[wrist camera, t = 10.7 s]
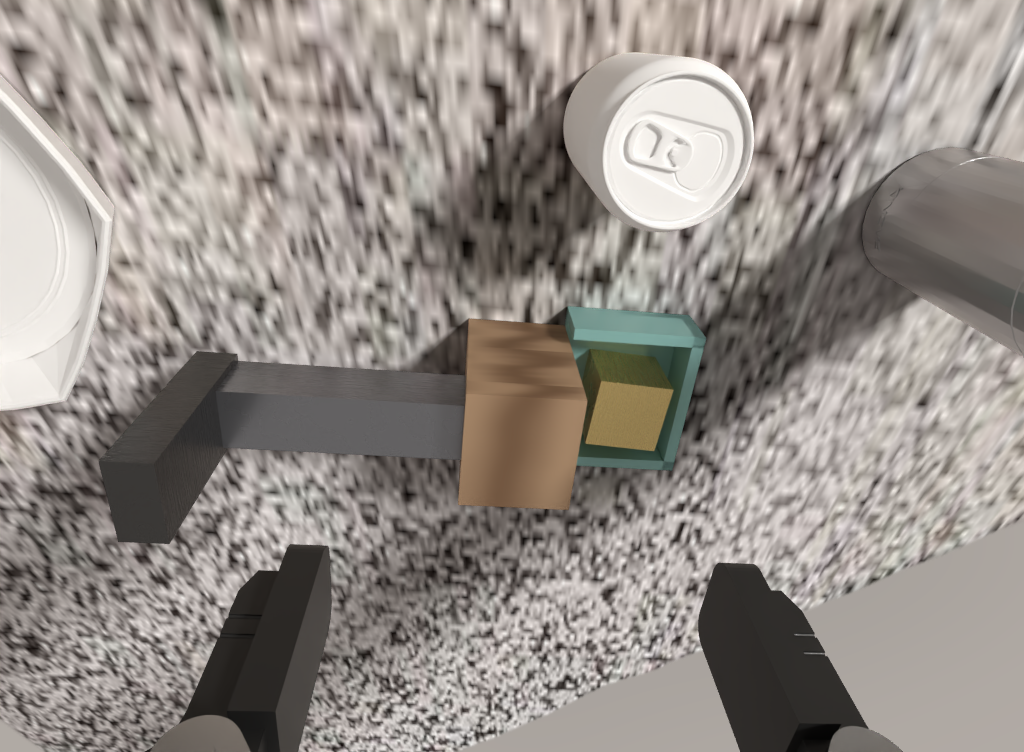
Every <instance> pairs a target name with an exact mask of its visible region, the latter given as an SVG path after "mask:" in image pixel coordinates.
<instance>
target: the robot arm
mask: <svg viewBox="0 0 1024 752" xmlns="http://www.w3.org/2000/svg"><path fill="white" fill-rule="evenodd" d="M862 241H863V246H864V251H865V253H866V255H867V258H868V260H869V262H870V263H871V264H872V265H873V266H874V267H875V269H876V270H877V271H879V272H880V273H882V274H883V275H885V276H887V277H888V278H890V279H892V280H893V281H895V282H897V283H898V284H900V285H902V286H903V287H905V288H907V289H908V290H910V291H912V292H913V293H915V294H916V295H918V296H920V297H922V298H923V299H925V300H927V301H928V302H930V303H932V304H933V305H935V306H937V307H939V308H940V309H942V310H944V311H945V312H947V313H949V314H951V315H952V316H954V317H956V318H957V319H959V320H961V321H962V322H964V323H966V324H968V325H969V326H971V327H973V328H974V329H976V330H978V331H980V332H981V333H983V334H985V335H986V336H988V337H990V338H991V339H993V340H995V341H997V342H998V343H1000V344H1002V345H1003V346H1005V347H1007V348H1009V349H1010V350H1012V351H1014V352H1015V353H1017V354H1019V355H1020V356H1022V357H1024V162H1020V161H1015V160H1011V159H1008V158H1004V157H999V156H995V155H990V154H986V153H982V152H977V151H973V150H969V149H963V148H955V147H948V148H939V149H934V150H931V151H928V152H925V153H922V154H920V155H918V156H916V157H914V158H912V159H911V160H909V161H907V162H906V163H904V164H903V165H902V166H900V167H899V168H898V169H896V170H895V171H894V172H893V173H892V174H891V175H890V176H889V177H888V178H887V179H886V180H885V181H884V182H883V183H882V185H881V186H880V188H879V189H878V190H877V192H876V193H875V195H874V196H873V198H872V200H871V202H870V205H869V207H868V209H867V211H866V215H865V219H864V223H863V232H862ZM331 604H332V598H331V576H330V554H329V547H328V546H320V545H295V544H290V545H289V546H288V548H287V550H286V553H285V556H284V558H283V561H282V564H281V566H280V569H279V571H260V570H259V571H258V572H257V573H256V574H255V575H254V576H253V577H252V578H251V579H250V580H249V581H248V582H247V583H246V584H245V585H244V586H243V587H242V588H241V589H240V590H239V591H238V593H237V596H236V598H235V600H234V603H233V605H232V607H231V610H230V612H229V617H228V618H227V619H226V621H225V624H224V626H223V628H222V630H221V633H220V638H218V640H217V642H216V644H215V647H214V649H213V651H212V654H211V656H210V658H209V661H208V663H207V665H206V667H205V670H204V672H203V674H202V677H201V679H200V681H199V684H198V686H197V688H196V691H195V693H194V695H193V698H192V700H191V702H190V704H189V707H188V709H187V711H186V713H185V715H184V717H183V718H182V720H181V721H180V723H179V724H178V725H176V726H175V727H173V728H172V729H170V730H169V731H168V732H166V733H165V734H164V735H163V736H162V737H161V738H160V739H159V740H158V741H157V742H156V744H155V745H154V746H153V747H152V748H150V749H149V750H147V751H145V752H298V749H299V745H300V741H301V737H302V733H303V729H304V725H305V721H306V717H307V713H308V709H309V706H310V702H311V698H312V694H313V690H314V686H315V682H316V678H317V674H318V670H319V666H320V662H321V658H322V654H323V650H324V646H325V642H326V638H327V634H328V630H329V624H330V617H331ZM698 631H699V638H700V643H701V646H702V649H703V651H704V654H705V657H706V660H707V662H708V665H709V668H710V670H711V673H712V676H713V678H714V681H715V684H716V686H717V689H718V692H719V695H720V698H721V700H722V703H723V706H724V708H725V711H726V714H727V717H728V719H729V722H730V725H731V728H732V730H733V733H734V736H735V738H736V741H737V744H738V747H739V749H740V752H903V751H902V750H901V749H900V748H899V747H897V746H896V745H895V744H894V743H893V742H891V741H890V740H889V739H887V738H886V737H884V736H882V735H881V734H879V733H877V732H875V731H873V730H870V729H869V728H868V727H867V725H866V724H865V722H864V720H863V718H862V717H861V715H860V713H859V711H858V709H857V708H856V706H855V704H854V702H853V701H852V699H851V697H850V695H849V694H848V692H847V690H846V688H845V686H844V685H843V683H842V681H841V679H840V678H839V676H838V674H837V672H836V671H835V669H834V667H833V665H832V663H831V662H830V660H829V658H828V657H827V656H825V651H824V649H823V647H822V646H821V644H820V642H819V640H818V639H817V638H815V636H814V632H813V630H812V628H811V626H810V625H809V623H808V621H807V619H806V617H805V616H804V614H803V612H802V611H801V610H800V609H799V608H798V607H797V606H796V605H795V604H794V603H793V602H792V601H791V600H790V599H789V598H788V597H787V596H786V595H785V594H784V593H783V592H782V591H772V590H770V588H769V586H768V584H767V582H766V580H765V578H764V577H763V575H762V573H761V571H760V569H759V568H758V567H757V566H756V565H754V564H738V563H718V564H717V565H716V566H715V568H714V570H713V573H712V576H711V579H710V582H709V585H708V589H707V592H706V595H705V598H704V601H703V604H702V607H701V610H700V614H699V620H698Z"/></svg>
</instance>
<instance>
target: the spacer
mask: <svg viewBox="0 0 1024 752" xmlns="http://www.w3.org/2000/svg"><path fill="white" fill-rule="evenodd" d="M582 384H583V388H584V391H585V394H586V398H587V407H586V413H585V418H584V424H583V430H582V433H583V437H584V440H585V444H593V445H602V446H611V447H621V448H630V449H639V450H648V451H654V450H655V447H656V444H657V441H658V438H659V435H660V431H661V428H662V425H663V422H664V419H665V416H666V412H667V409H668V406H669V403H670V400H671V397H672V394H673V388H672V386H671V384H670V382H669V381H668V379H667V377H666V375H665V373H664V372H663V370H662V368H661V366H660V364H659V363H658V361H657V359H656V357H652V356H644V355H636V354H628V353H620V352H613V351H605V350H597V349H589V354H588V358H587V362H586V366H585V370H584V374H583V379H582Z"/></svg>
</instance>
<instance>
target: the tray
mask: <svg viewBox="0 0 1024 752" xmlns="http://www.w3.org/2000/svg"><path fill="white" fill-rule="evenodd" d="M565 328H566V331H567V335H568V338H569V341H570V345H571V348H572V351H573V354H574V358H575V361H576V364H577V368H578V371H579V374H580V378H581V381H582V379H583V374H584V370H585V366H586V362H587V358H588V354H589V349H597V350H605V351H613V352H620V353H628V354H636V355H644V356H652V357H656V359H657V361H658V363H659V364H660V366H661V368H662V370H663V372H664V373H665V375H666V377H667V379H668V381H669V382H670V384H671V386H672V388H673V394H672V397H671V400H670V403H669V406H668V409H667V412H666V416H665V419H664V422H663V425H662V428H661V431H660V435H659V438H658V441H657V444H656V447H655V450H654V451H648V450H639V449H630V448H621V447H611V446H602V445H593V444H585V440H584V437H583V433H582V436H581V441H580V447H579V453H578V459H577V464H576V466H594V467H613V468H632V469H651V470H670V471H672V468H673V465H674V461H675V457H676V453H677V449H678V445H679V441H680V438H681V434H682V430H683V426H684V422H685V418H686V414H687V411H688V407H689V403H690V399H691V395H692V391H693V388H694V384H695V380H696V376H697V372H698V368H699V364H700V361H701V357H702V353H703V349H704V345H705V341H706V337H705V335H704V334H703V333H702V332H701V330H700V329H699V328H698V326H697V325H696V324H695V322H694V321H693V320H692V318H691V317H690V316H689V315H679V314H665V313H652V312H638V311H625V310H611V309H598V308H584V307H571V306H568V307H567V314H566V320H565Z"/></svg>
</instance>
